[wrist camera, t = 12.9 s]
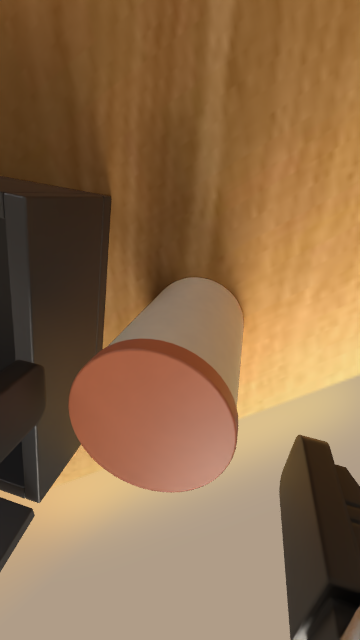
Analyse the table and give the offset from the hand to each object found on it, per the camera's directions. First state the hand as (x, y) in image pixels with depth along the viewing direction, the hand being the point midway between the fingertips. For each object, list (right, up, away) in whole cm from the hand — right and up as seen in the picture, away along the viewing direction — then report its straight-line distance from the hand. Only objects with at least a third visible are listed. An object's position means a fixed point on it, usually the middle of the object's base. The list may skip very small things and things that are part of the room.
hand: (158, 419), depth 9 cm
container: (+2, +3, +9) cm, 9 cm away
